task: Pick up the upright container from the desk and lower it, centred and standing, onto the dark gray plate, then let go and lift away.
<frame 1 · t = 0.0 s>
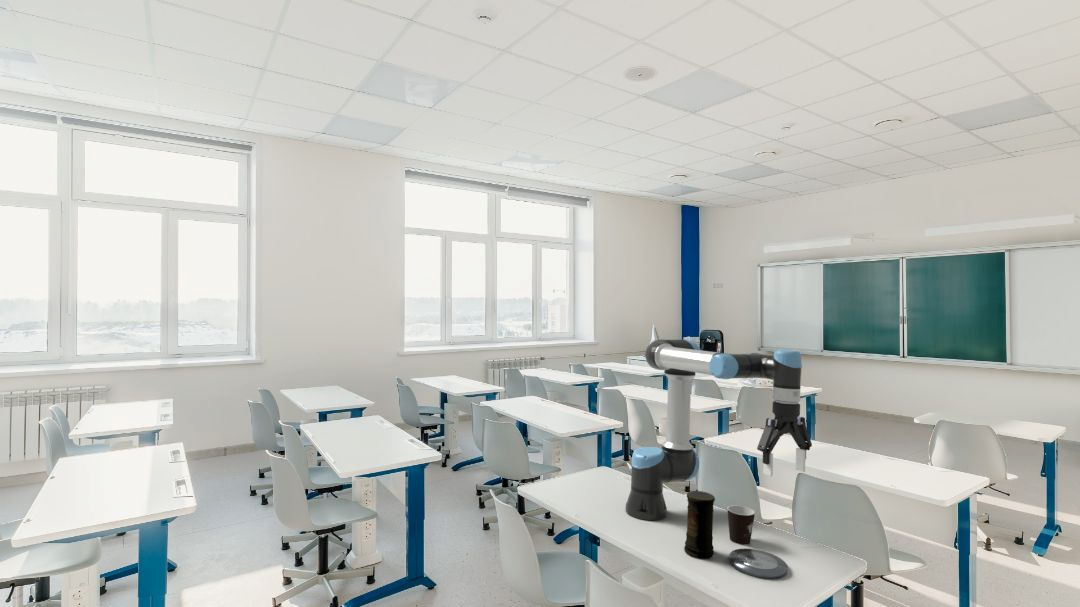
hand: (784, 472, 157), 28 cm above the table, tool pointing down, fingers open, 13 cm apart
container: (698, 553, 164), on the table
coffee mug: (743, 540, 174), on the table
dark gray plate: (757, 565, 156), on the table
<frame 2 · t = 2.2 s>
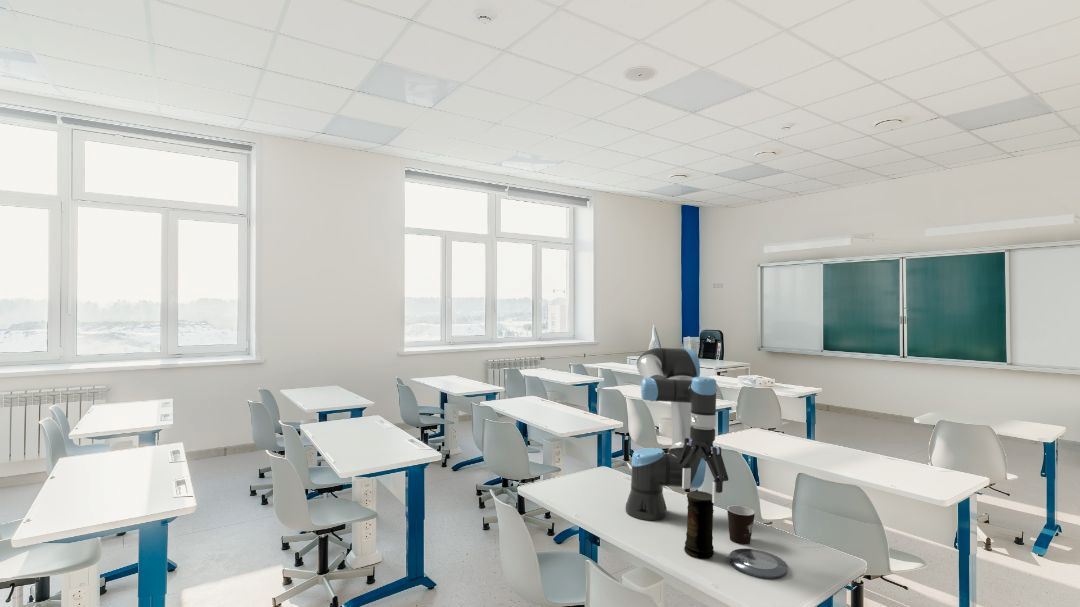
hand: (700, 495, 164), 18 cm above the table, tool pointing down, fingers open, 13 cm apart
nothing on the table moved.
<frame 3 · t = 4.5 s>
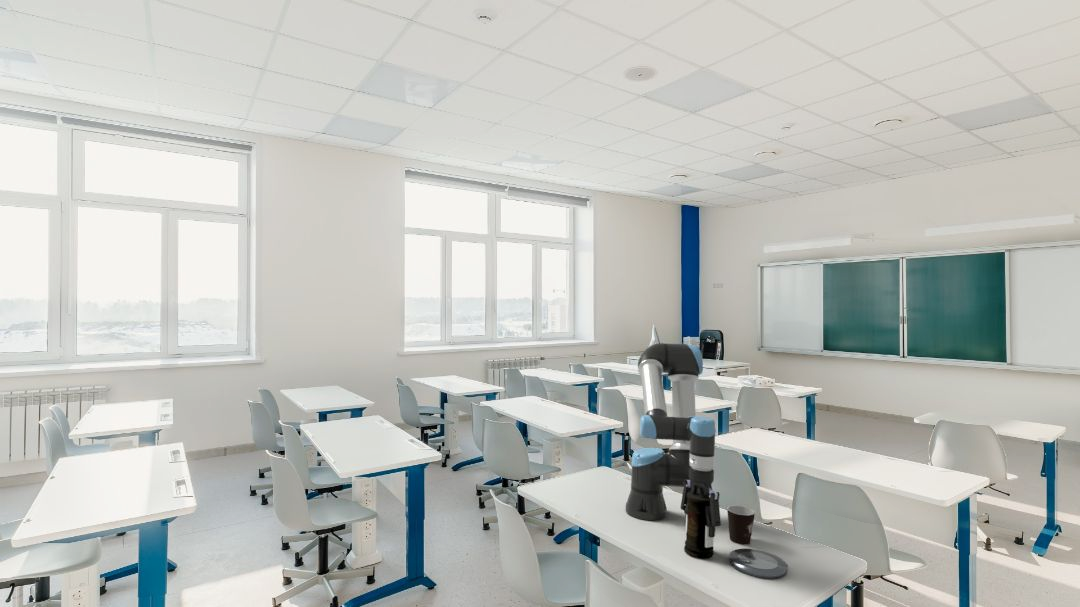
hand: (699, 540, 164), 4 cm above the table, tool pointing down, fingers closed on container, 8 cm apart
container: (698, 553, 164), on the table, touching gripper
everything else where it was.
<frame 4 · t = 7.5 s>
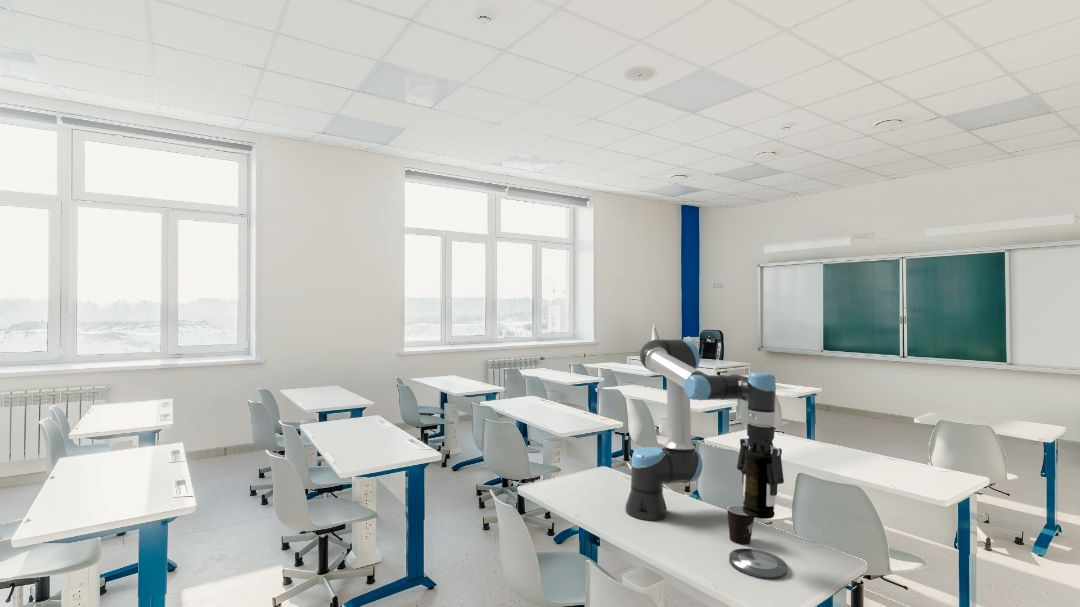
hand: (758, 500, 157), 19 cm above the table, tool pointing down, fingers closed on container, 8 cm apart
container: (758, 513, 157), point 15 cm above the table, touching gripper
everything else where it was.
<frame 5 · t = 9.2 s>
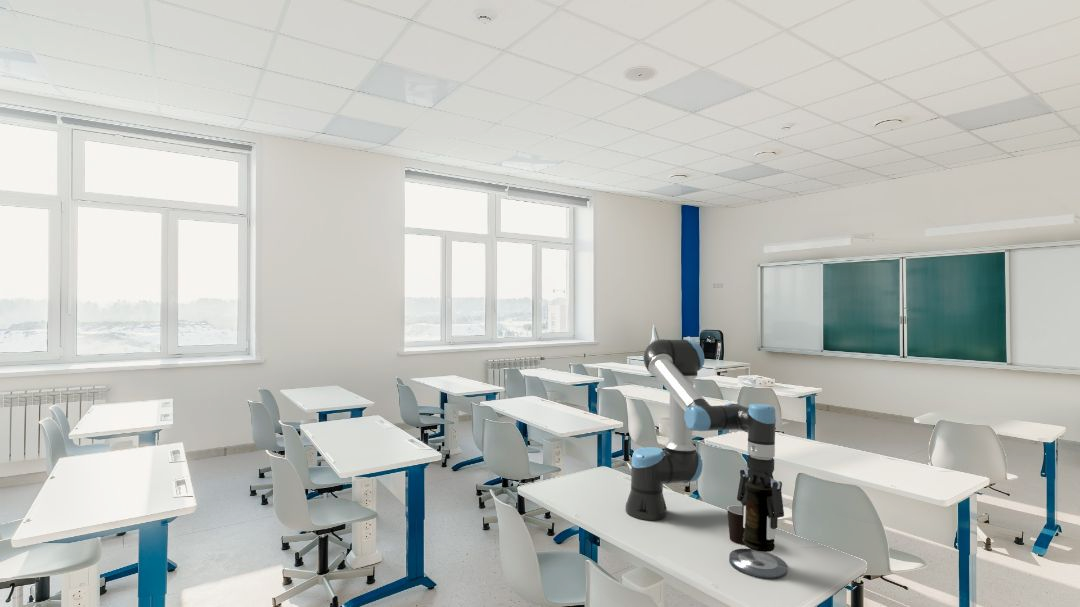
hand: (758, 532, 156), 10 cm above the table, tool pointing down, fingers closed on container, 8 cm apart
container: (758, 546, 156), point 6 cm above the table, touching gripper
everything else where it was.
when the fingers open (6 cm above the table, at t = 10.8 s): container stays where it is, resting on dark gray plate.
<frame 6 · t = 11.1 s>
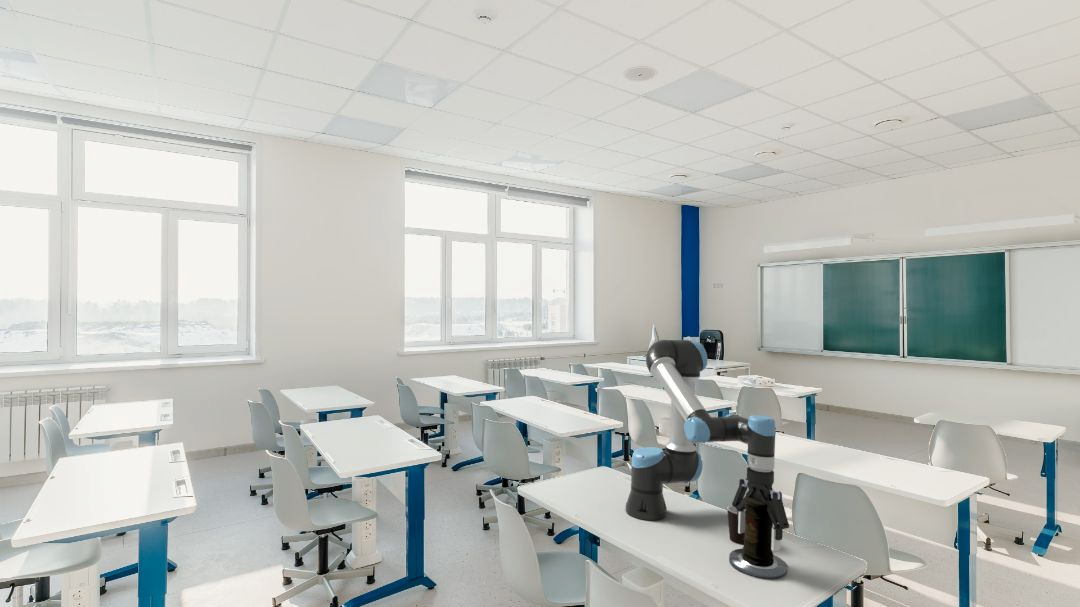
hand: (758, 541, 156), 7 cm above the table, tool pointing down, fingers open, 12 cm apart
container: (757, 560, 156), point 1 cm above the table, touching dark gray plate
everything else where it was.
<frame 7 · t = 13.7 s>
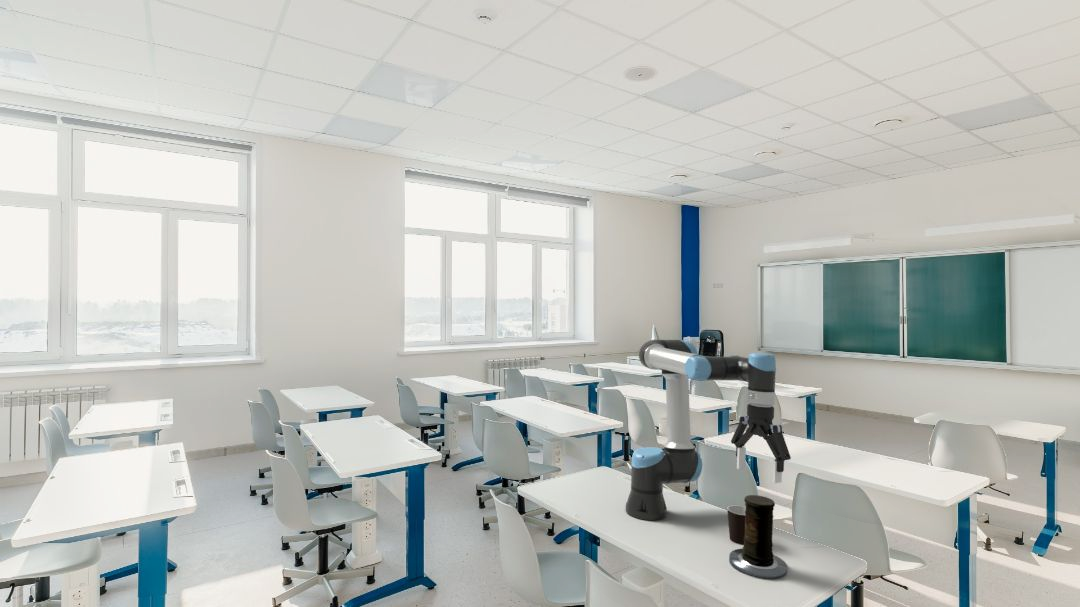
hand: (758, 475, 157), 27 cm above the table, tool pointing down, fingers open, 13 cm apart
nothing on the table moved.
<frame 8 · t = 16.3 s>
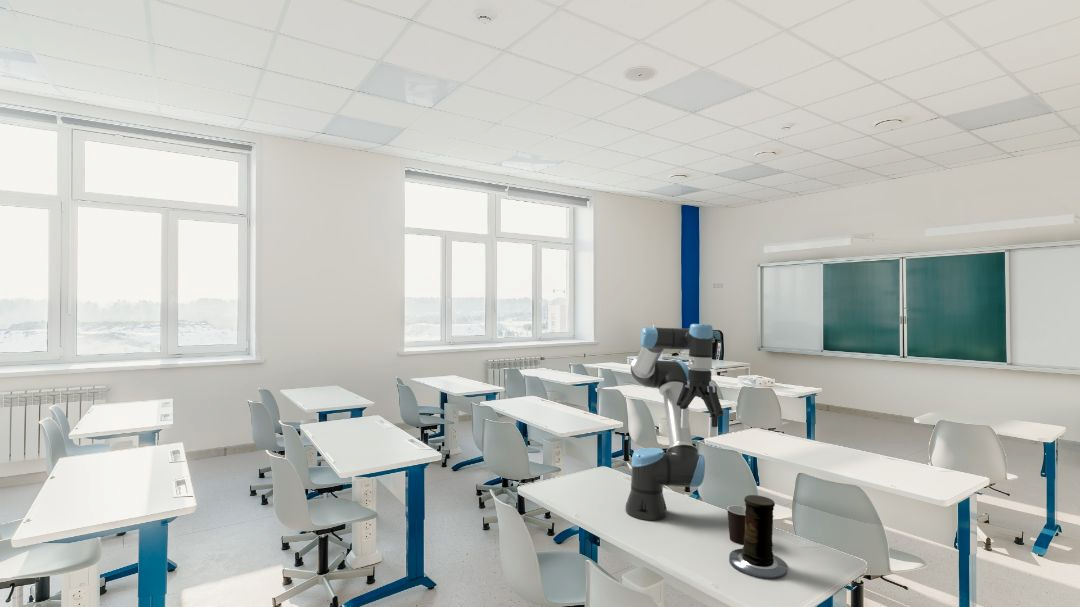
hand: (698, 432, 177), 35 cm above the table, tool pointing down, fingers open, 13 cm apart
nothing on the table moved.
at the end: container 0.1 cm off-centre on the dark gray plate, point 1.5 cm above the dark gray plate's base; container tilted 0°; the gripper is holding nothing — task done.
